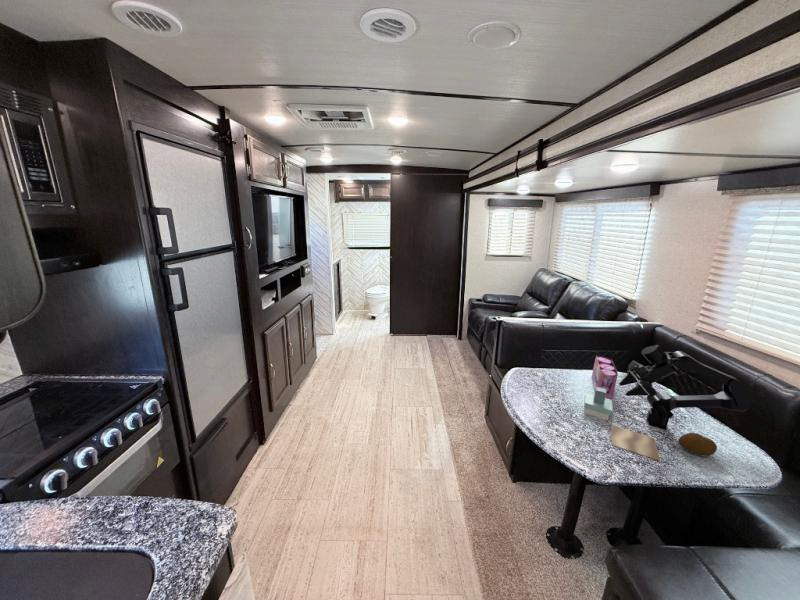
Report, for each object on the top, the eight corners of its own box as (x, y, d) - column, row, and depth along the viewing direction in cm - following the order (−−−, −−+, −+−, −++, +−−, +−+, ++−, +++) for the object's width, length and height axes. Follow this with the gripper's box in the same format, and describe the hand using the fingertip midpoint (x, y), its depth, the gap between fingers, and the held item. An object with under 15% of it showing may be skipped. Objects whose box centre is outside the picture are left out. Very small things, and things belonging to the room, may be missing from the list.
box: (607, 410, 147) (609, 401, 146) (607, 420, 140) (609, 411, 139) (585, 404, 152) (587, 395, 150) (584, 413, 144) (586, 404, 143)
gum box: (613, 400, 156) (619, 376, 153) (594, 396, 159) (600, 372, 156) (607, 380, 177) (612, 358, 173) (591, 376, 180) (595, 355, 177)
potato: (720, 461, 117) (726, 443, 116) (686, 459, 118) (692, 441, 116) (701, 446, 125) (707, 429, 123) (669, 444, 126) (674, 427, 124)
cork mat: (653, 439, 128) (654, 438, 128) (659, 461, 116) (660, 460, 116) (610, 425, 136) (610, 424, 136) (611, 445, 123) (612, 444, 123)
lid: (610, 404, 147) (614, 388, 144) (611, 415, 138) (615, 398, 136) (584, 397, 152) (588, 381, 150) (583, 407, 143) (587, 391, 141)
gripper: (637, 349, 143) (604, 367, 149) (653, 366, 125) (616, 385, 132) (654, 368, 142) (620, 385, 148) (673, 387, 125) (634, 406, 131)
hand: (622, 389), depth 140 cm, fingers open, 9 cm apart
